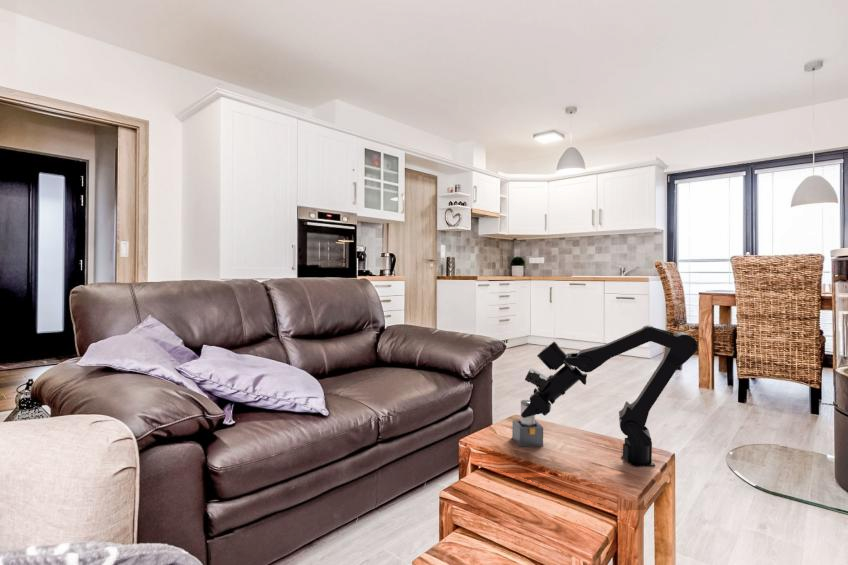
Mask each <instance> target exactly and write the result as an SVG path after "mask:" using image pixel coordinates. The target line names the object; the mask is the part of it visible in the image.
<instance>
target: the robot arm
mask: <svg viewBox="0 0 848 565" xmlns="http://www.w3.org/2000/svg"><path fill="white" fill-rule="evenodd" d="M649 342H651V343H655V344H658V345H660V346H663V347H665V350H664V354H663V357H662V360H661V361H660V363H659V364H658V366H657V367H656V369H655V370H654V372H653V374H652V375H651V376H650V378H649V379H648V381H647V383H646V384H645V385H644V387H643V388H642V390H641V391H640V393H639V395H638V396H637V398H636V399H635V400H634V401H633V402H632V403H630V402H628V401H625V403H624V405H623V406H622V407H623V408H622V409H621V410H619V411H618V416H619V417H618V420H619V423H618V424H619V428H620V431H621V433H622V434H624V435H625V436H626V437H624V443H623V444H622V455H620V457H621V458H622V460H624V461H625V462H627V463H628V464H629V465H630V466H632V467H634V468H636V467H638V468H639V467H655V466H656V464H655V462H653V461H652V459H653V458H652V457H653V455H652V454H653V441H652V437H651V433H650V430H649V428H648V427H647V426H646V424H647V420H648V417H649V414H650V411H651V409H652V407H653V406H654V405H655V403H656V401H657V400H658V398H659V397H660V396H661V394H662V393H663V391H664V389H665V388H666V386H667V385H668V383H669V382H670V380H671V378H673V376H674V374H675V372H676V371H677V370H678V369H679V367H681V366H683V364H685V363H686V362H687V361H689V360H690V359H691V357H693V355H695V353H696V352H697V350H698V343H697V340H696V339H695V338H694V337H693V336H692V335H690V334H688V333H686V332H684V331H677V332H672V331H669V330H665V329H660V328H656V327H654V326H653V325H649V324H648V325H645V326H642V328H640V329H637V330H635V331H633V332H631V333H628V334H625V335H624V336H621V337H618V338H617V339H614V340H612V341H610V342H608V343H606V344H603V345H598V346H592V347H588V348H585V349H582V350H580V351H579V352H574V353H573V352H572V353H565V351H564V350H563V349H562V348H561V347H560V346H559V344H558V342H556V341H553V342H552V343H550V344H549V345H547V346H546V347H545V348H543V349H542V350H541V351H540V352H539V353H538V354H537V355H536V357H537V358H538V359H539V360H540V361H541V363H543V364H544V365H545V366H546V367H547V369H549V370H550V371H551V370H553V371H556V373H554V374H550V375H549V376H547V375H544V374H543V373H541V372H540V371H538V370H536V369H534V368H530V369H528V372H527V374H526V376H525V378H524V381H525V382H528V383H530V384H532V385H534V386H535V387H536V388H534V389H533V393H532V394H530V397H529V400H530V404H529V405H528V406H527V408H526V409H525V410H524V411H523V413H522V414H521V413H520V417H521V416H522V417H523V418H525V417H529V416H533V415H535V416H536V415H540V414H542V415H543V416H545V417H546V416H547V415H548V414H549V413H550V412H551V409H552V405H553V404H554V403H556V400H558V399H559V398H560V397H561V396H564V395H565V394H566V392H567V391H568V390H570V389H571V388H572V387H573V386H574V385H575V384H577V383H578V382H579V381H580V382H581V384H583V385H584V386H585V385H587V377H588V374H587V373H591V372H593V371H594V370H597V369H598V368H599V367H600V366H602V365H603V364H604V363H606V362H608V360H610V359H612V358H615V357H617V356H619V355H622V354H623V353H626V352H628V351H631V350H633V349H635V348H637V347H640V346H642V345H644V344H647V343H649Z"/></svg>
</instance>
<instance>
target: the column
mask: <svg viewBox="0 0 848 565" xmlns="http://www.w3.org/2000/svg"><path fill="white" fill-rule="evenodd" d="M529 404H530V399H522V400H520V420H521V426H522V427H535V420H536V415H533V416H529V417H525V418H523V417H522V416H521V414H522V413H523V411H524V410H525V409H526V408H527V406H528V405H529Z"/></svg>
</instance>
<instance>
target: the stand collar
mask: <svg viewBox="0 0 848 565" xmlns="http://www.w3.org/2000/svg"><path fill="white" fill-rule="evenodd" d="M511 427H512V428H511V429H512V431H511V432H512V433H511V434H512V437H511V439H512V440H513V442H514V443H515V444H516V445H517V447H518V448H528V447H529V448H535V447H537V448H539V447H540V448H541V447H544V426H542V424H540V423H539V422H538V421H537V420H536V419H535V427H522V426H521V419H512V426H511Z"/></svg>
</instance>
